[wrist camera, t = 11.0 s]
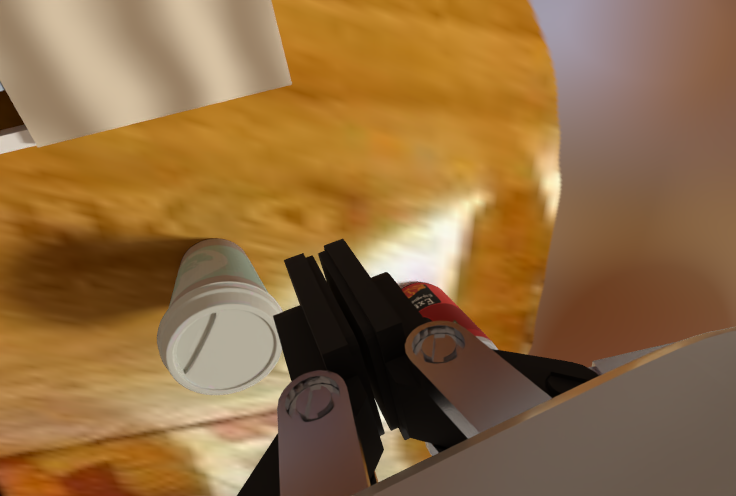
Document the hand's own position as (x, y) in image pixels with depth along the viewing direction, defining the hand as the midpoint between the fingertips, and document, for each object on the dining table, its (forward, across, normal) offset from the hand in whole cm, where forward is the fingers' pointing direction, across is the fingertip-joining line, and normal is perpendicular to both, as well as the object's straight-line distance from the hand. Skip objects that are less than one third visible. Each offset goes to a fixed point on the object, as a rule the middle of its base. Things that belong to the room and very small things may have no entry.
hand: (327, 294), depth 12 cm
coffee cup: (+27, +6, +12) cm, 30 cm away
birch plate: (+27, +4, -8) cm, 28 cm away
